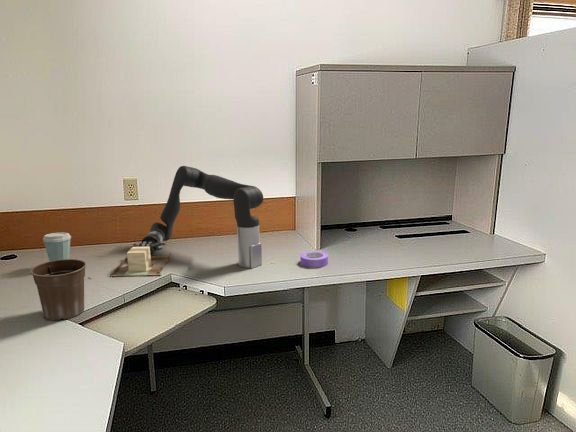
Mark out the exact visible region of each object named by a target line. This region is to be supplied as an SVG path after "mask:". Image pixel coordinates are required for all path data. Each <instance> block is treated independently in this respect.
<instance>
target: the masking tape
mask: <svg viewBox="0 0 576 432" xmlns="http://www.w3.org/2000/svg"><path fill="white" fill-rule="evenodd" d="M300 265H301V266H303V267H306V268H315V269H317V268H323V267H326V266H328V265H329V255H328V253H327V252H324V251H320V250H310V251H309V250H308V251H305V252H302V253H301V254H300Z"/></svg>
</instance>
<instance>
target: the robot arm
mask: <svg viewBox="0 0 576 432" xmlns="http://www.w3.org/2000/svg"><path fill="white" fill-rule="evenodd" d="M184 187H189V188H195V189H201V190H204V192H206V194H208V195H209V196H212V197H215V198H216V199H220V200H221V199H222V200H232V201H233V208H234V209H233V210H234V217H235V222H236V233H237V234H236V235H237V257H238V266H239V267H241V268H249V269H253V268H256V267H259V266H262V265H263V256H262V254H263V252H262V243H261V242H260V241H261V240H260V219H259V217H257V216H253V215H251V210H252V209H256V208H258V207H260V206H261V205H262V204H263V202H264V195H263V192H262V190H261V189H260V188H259V187H258V186H255V185H248V184H243V183H240V182H237V181H234V180H231V179H228V178H225V177H223V176H220V175H216V174H209V173H206V172H204V171H202V170H200V169H198V168H196V167H191V166H187V165H181V166H179V167H178V169H177V170H176V172H175V174H174V177H173V180H172V184H171V188H170V191H169V195H168V199H167V202H166V204H165V206H164V208H163V210H162V212H161V214H160V220H161V221H162V223H163V224H162V223H161V222H158V221H157V222H154V223H152V225H151V226H150V229H149V233H147V234H146V235H145V236H144V237H143V238H142V240H141V242H139V243H138V244H137V243H133V244H132V247H150V253H153V252H156V251H160V250H162V249H163V244H162V243H163V242H167V241H169V240H170V239H171V238H172V236H173V229H174V224H175V221H176V219H177V218H178V215H179V212H180V210H181V200H180V193H181V190H182V189H183V188H184ZM164 224H165V225H164Z"/></svg>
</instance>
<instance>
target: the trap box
mask: <svg viewBox="0 0 576 432" xmlns="http://www.w3.org/2000/svg"><path fill="white" fill-rule="evenodd" d="M172 256H173V253H169V255H165V254H164V255H151V266H150V267H149V268H148V270H147V271H140V272H129V269H128V267H122V266H124V264H125V263H128V259H127V256H126V257H124V259H123V260H122V261H121V262H120V263H119V264H118V265H117V266H116V267H115V269H113V270H112V272H111V278H142V277H143V278H145V277H161V276H162V274H161V273H162V271H163V270H164V268H165V267H166V265H167V263H168V262H169V261H170V259H171V258H172ZM156 262H163V263H162V265H161V266H154V265H155V264H156Z"/></svg>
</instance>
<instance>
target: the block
mask: <svg viewBox="0 0 576 432" xmlns="http://www.w3.org/2000/svg"><path fill="white" fill-rule="evenodd" d="M151 256H152V255H151V252H150V247H133V246H132V247H131V248H130V249H129V250H128V251H127V253H126V257H127V259H128V262H127V266H128V267H127V268H128V269H129V272H140V271H147V270H148V268H149V267H150V266H151Z"/></svg>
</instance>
